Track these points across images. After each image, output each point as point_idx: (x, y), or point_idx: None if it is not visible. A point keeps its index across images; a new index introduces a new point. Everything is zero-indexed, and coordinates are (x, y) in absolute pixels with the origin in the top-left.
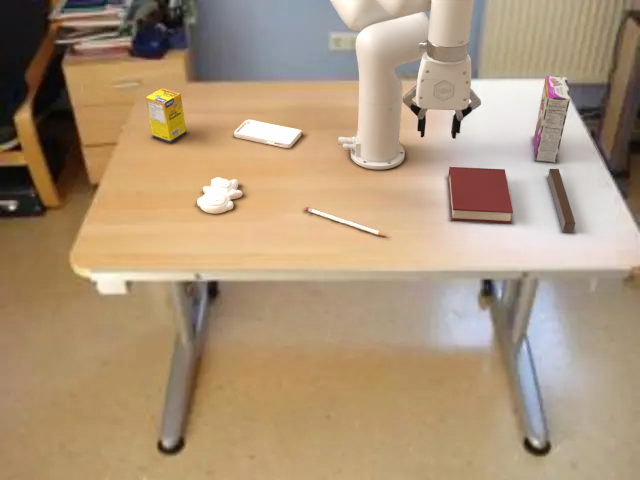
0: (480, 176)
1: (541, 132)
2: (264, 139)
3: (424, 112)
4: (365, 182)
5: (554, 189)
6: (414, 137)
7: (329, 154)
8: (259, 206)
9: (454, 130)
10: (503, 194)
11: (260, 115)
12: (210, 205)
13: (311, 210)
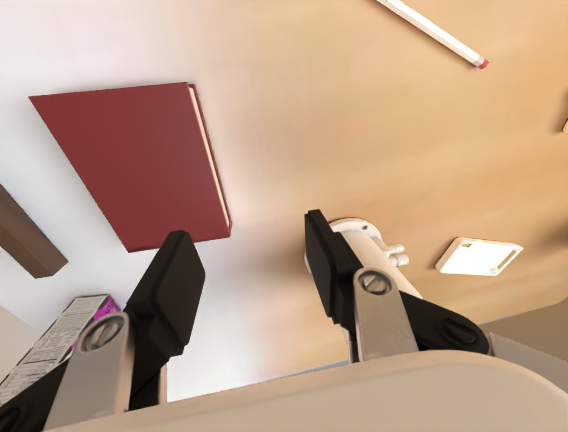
0: (165, 221)
1: (71, 346)
2: (490, 243)
3: (368, 316)
4: (362, 183)
5: (9, 222)
6: (293, 296)
7: (406, 238)
8: (555, 66)
9: (165, 255)
10: (91, 170)
11: (470, 287)
12: None
13: (479, 56)
